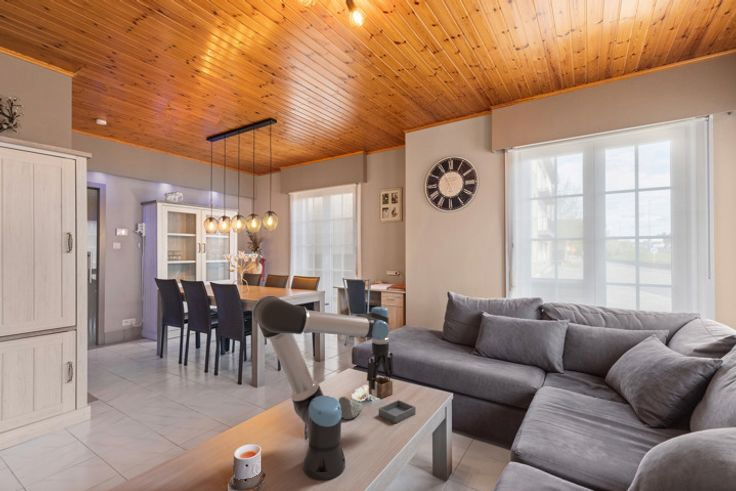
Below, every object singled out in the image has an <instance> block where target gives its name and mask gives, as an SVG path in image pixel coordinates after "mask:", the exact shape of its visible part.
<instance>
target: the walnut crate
mask: <svg viewBox="0 0 736 491" xmlns="http://www.w3.org/2000/svg"><path fill="white" fill-rule="evenodd" d="M376 382H377V397H376V398H377V399H379V400H381V401H382V400H384V399H386V398H388V397H390V396H392V395H393V391H394V390H393V381H392V380H391V379H390V380H388V379H385V378H384V376H383V377H382V376H377V378H376ZM368 394H369V395H370V396H372V389H371V382H370V381H368Z"/></svg>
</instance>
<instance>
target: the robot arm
mask: <svg viewBox="0 0 736 491" xmlns="http://www.w3.org/2000/svg"><path fill="white" fill-rule="evenodd" d="M252 317H253V319H254V321H255V322H256V323H257V324H258V326H259V329H260V331H261V334H262V335H263V338H265V339H267V340H269V341H270V343H271V345H272V348H273V351H274V353H275V354H276V357H277V359H278V361H279V363H280V366H281V369H282V370H283V372H284V374H285V377H286V379H287V382H288V384H289V386H290V388H291V391H292V393H291V395H290V398H291V401H292V403H293V407H294V408H293V409H294V411H295V413H296V415H297V416H298V417H299V418H300V419H301V420H302V422H303V423H304V424H305V426H306V427H307V428H308V446H307V450H306V453H305V457H304V460H303V465H302V466H303V468H302V469H303V472H304V474H305V475H306V476H307V477H308V478H310V479H313V480H317V481H326V480H331V479H334V478H336V477H339V476H340V475H341V474H343V472H344V471H345V468H346V457H345V454H344V450H343V447H342V443H341V441H342V440H341V439H342V436H341V434H342V417H341V415H342V414H341V413H342V412H341V405H340V403H339V399H337V398H335V397H334V396H330V395H324V393H323V390H322V389H321V387H320V383H319V382H318V381H316V380H314V379H313V378H312V375H311V372H310V370H309V369H308V366H307V363H306V361H305V358H304V356H303V354H302V351H301V349H300V347H299V345H298V342H297V340H296V337H295V336H294V335H302V334H303V333H304V332H305V333H306V332H307V333H317V334H329V335H338V336H339V335H340V336H348V337H361V338H369V339H370V338H371V351H372V356H371V357H367V375H366V381H368V382H369V381H370V382H371V389H372V395H371V396H372V397H375V398H377V382H376V378H377V377H378V372H379V369H380V366H381V365H382V368H383V373H384V376H383V378H385V379H388V380H390V381H391V378H392V377H393V375H394V366H393V364H394V362H393V354H394V353H393V352H391V351H389V350H390V348H389V347H390V345H389V342H390V341H389V340H390V338H389V334H390V326H389V325H390V324H389V319H390V316H389V309H388V308H387V307H386V306H375V307H372V308H371V312H369V313H368V312H367V313H358V314H357V313H356V314H350V315H347V314H340V313H333V312H332V313H331V312H324V311H316V310H309V309H307V307H306V306H300V305H296V304H293V303H290V302H288V301H286V300H283V299H280V297H278V296H275V295H266V296H263V297H260V299H258V300H257V301H256V302H255V304H254V305H253V308H252Z"/></svg>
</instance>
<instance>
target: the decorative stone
mask: <svg viewBox="0 0 736 491" xmlns="http://www.w3.org/2000/svg"><path fill="white" fill-rule="evenodd" d="M338 401H339V403H340V405H341V412H342V413H341V414H342V415H341V419H343V420H351V419H353V418H356V417H357V416H358V415H359V413H361V412H362V411H363V409H364V407H363V404H362V403H361V402H357V401H356V400H352V399H351V398H349V397H346V396H340V397H339V398H338Z"/></svg>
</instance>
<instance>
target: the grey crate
mask: <svg viewBox="0 0 736 491" xmlns="http://www.w3.org/2000/svg"><path fill="white" fill-rule="evenodd" d="M416 410H417V409H416V406H415V405H412V404H409V403H408V402H405V401H403V400H400V399H397V400H395V401H393V402H390V403H388V404H386V405H385V404H384V405H383V406H380V407H378V417H380V418H382V419H385V420H386V421H389V422H391V423H393V424H395V425H397V424H398V423H401V422H403V421H404V420H407V419H409V418H411V417H413V416H415V415H416Z"/></svg>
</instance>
